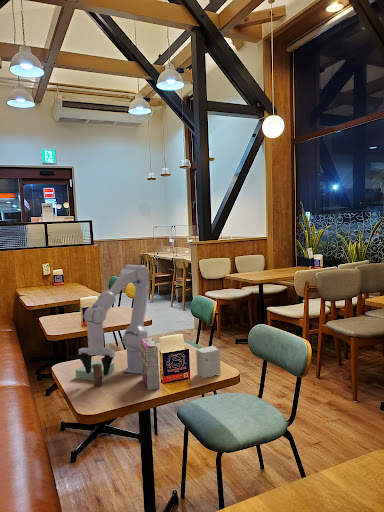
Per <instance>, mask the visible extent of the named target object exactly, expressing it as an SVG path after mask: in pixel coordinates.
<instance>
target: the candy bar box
mask: <svg viewBox="0 0 384 512" xmlns="http://www.w3.org/2000/svg"><path fill="white" fill-rule="evenodd" d="M140 343H141V359H142V376H141V377H142V381H143V383H144V385H145V388H146V390H147V391H153V390H154V391H155V390H159V389H160V373H159V372H160V371H159V369H160V368H159V355H158V354H159V353H158V345H157V344H156V341H155V340H154V339H153V337H147V338H145V339H140Z"/></svg>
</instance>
